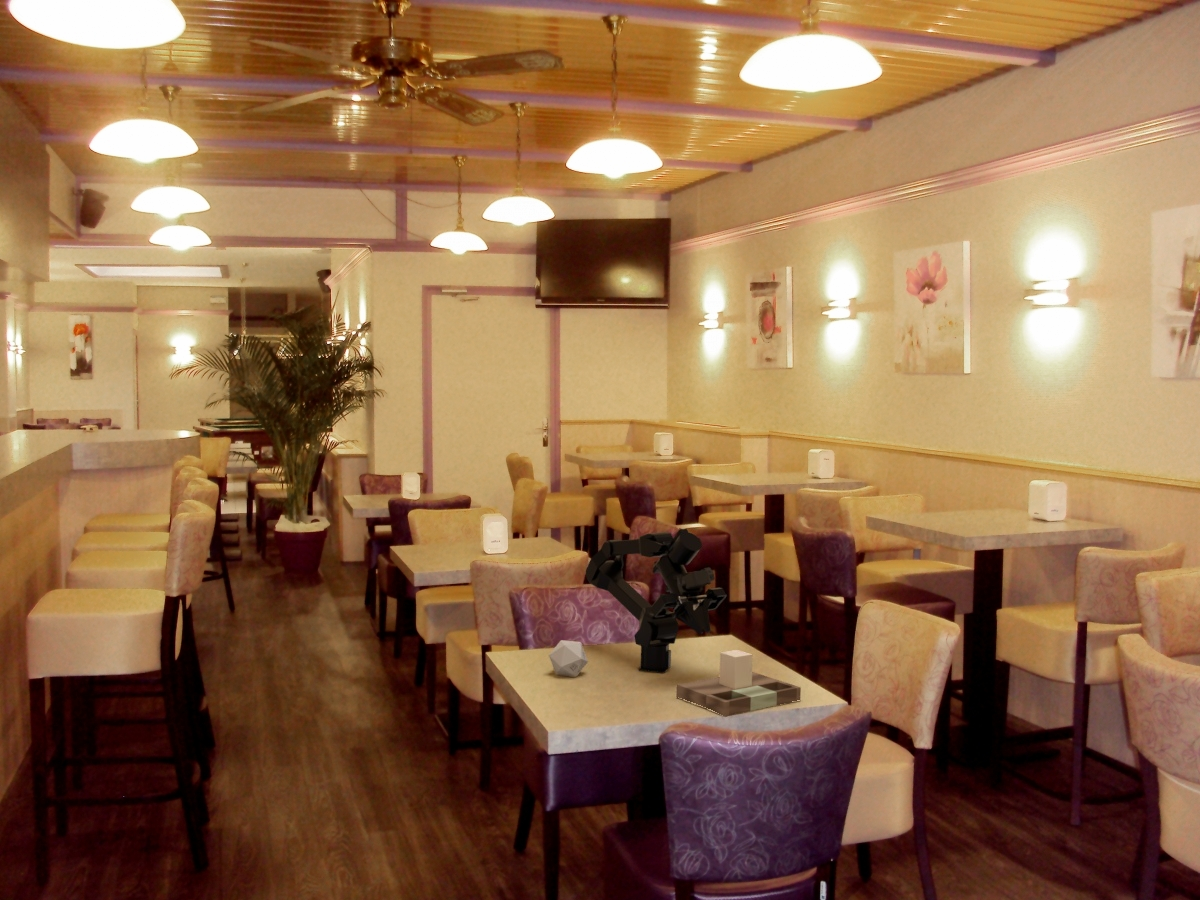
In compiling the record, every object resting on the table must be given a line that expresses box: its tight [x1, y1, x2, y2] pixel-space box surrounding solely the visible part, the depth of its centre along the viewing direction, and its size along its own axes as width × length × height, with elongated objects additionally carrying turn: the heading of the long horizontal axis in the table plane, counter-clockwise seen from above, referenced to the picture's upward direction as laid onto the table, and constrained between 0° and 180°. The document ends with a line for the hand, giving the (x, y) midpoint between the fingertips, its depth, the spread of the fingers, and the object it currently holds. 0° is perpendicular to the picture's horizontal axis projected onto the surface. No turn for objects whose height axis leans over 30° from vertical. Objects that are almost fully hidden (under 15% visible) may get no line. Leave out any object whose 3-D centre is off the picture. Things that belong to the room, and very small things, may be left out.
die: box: [548, 639, 589, 678], centre depth 258 cm, size 8×9×10 cm
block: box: [719, 649, 753, 689], centre depth 240 cm, size 5×5×7 cm
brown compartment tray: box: [675, 671, 802, 717], centre depth 239 cm, size 16×22×3 cm
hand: (705, 632), depth 248 cm, fingers closed
